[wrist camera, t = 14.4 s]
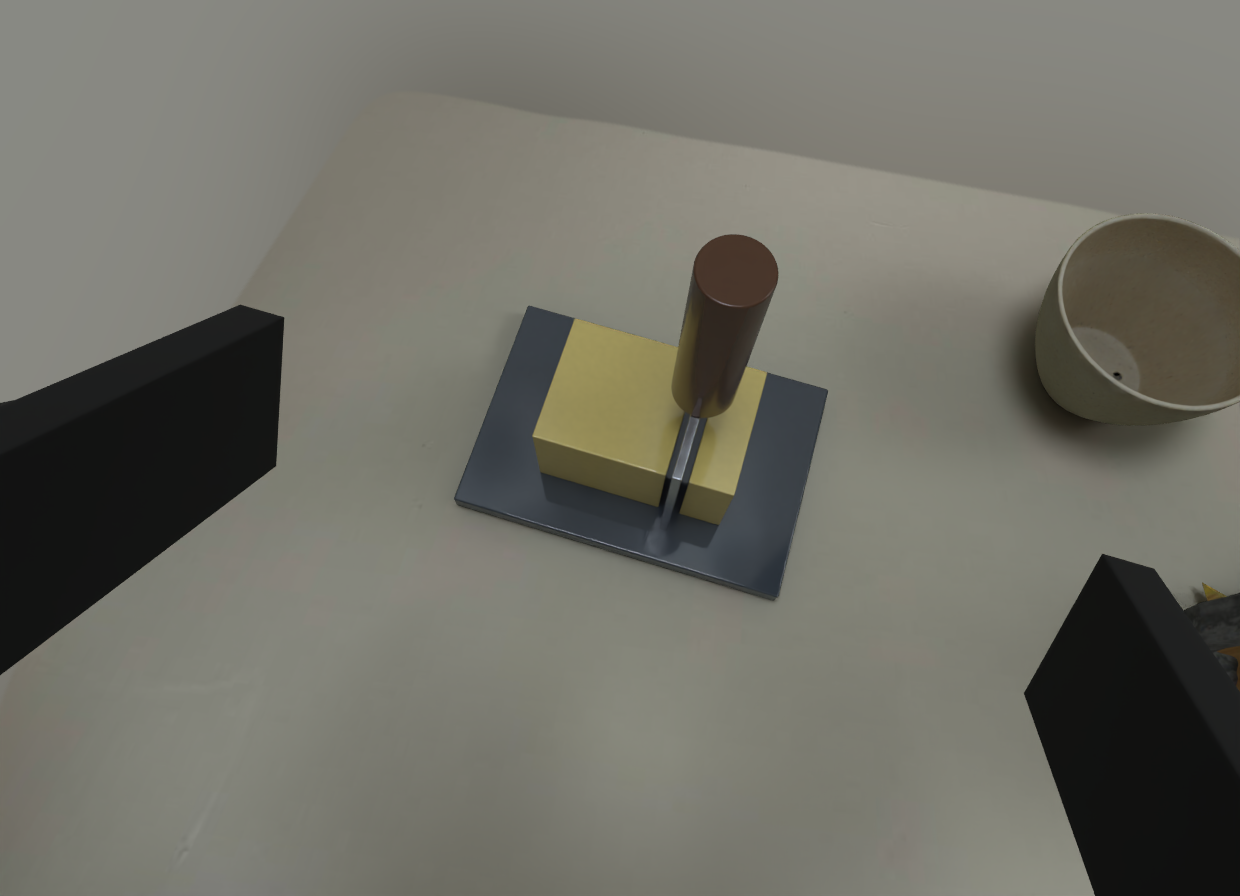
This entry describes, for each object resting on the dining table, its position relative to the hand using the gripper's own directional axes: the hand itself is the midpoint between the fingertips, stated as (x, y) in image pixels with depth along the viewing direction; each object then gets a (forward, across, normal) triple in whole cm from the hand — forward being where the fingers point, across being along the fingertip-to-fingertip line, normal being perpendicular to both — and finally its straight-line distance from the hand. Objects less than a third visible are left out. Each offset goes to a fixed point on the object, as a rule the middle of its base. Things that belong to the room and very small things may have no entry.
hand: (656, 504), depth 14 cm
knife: (+26, 0, -11) cm, 29 cm away
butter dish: (+27, -2, -12) cm, 30 cm away
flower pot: (+35, +19, -4) cm, 40 cm away
